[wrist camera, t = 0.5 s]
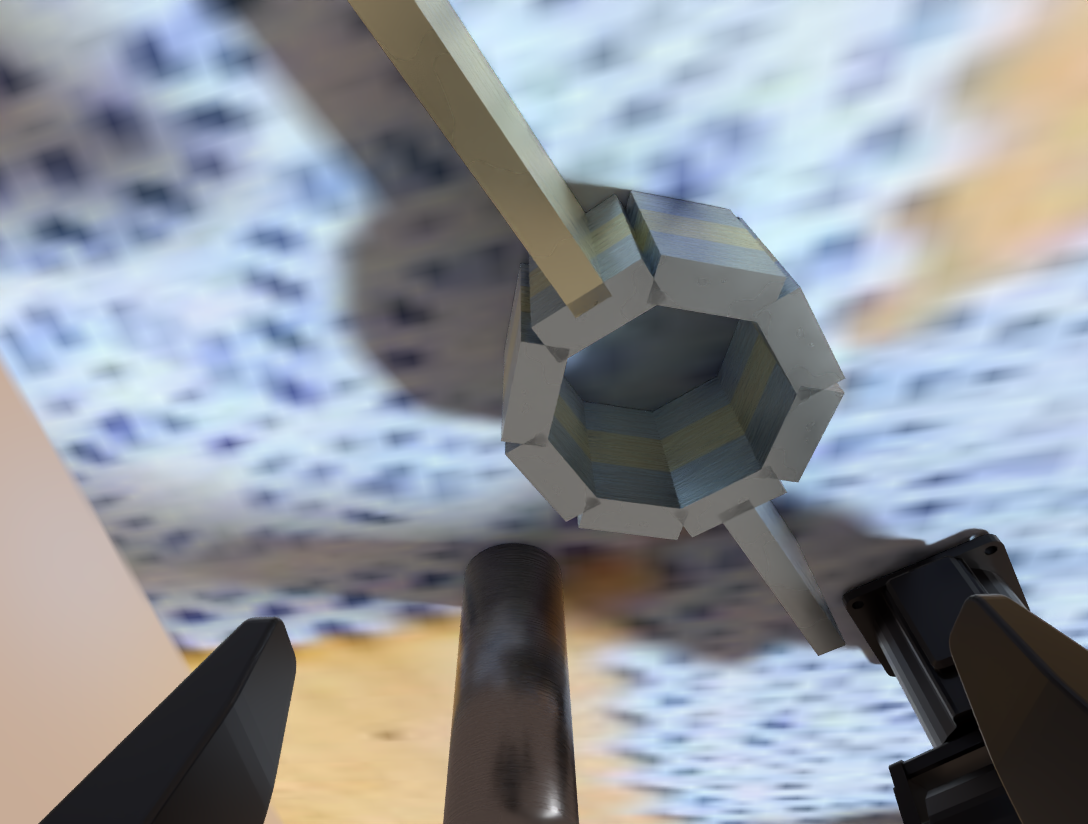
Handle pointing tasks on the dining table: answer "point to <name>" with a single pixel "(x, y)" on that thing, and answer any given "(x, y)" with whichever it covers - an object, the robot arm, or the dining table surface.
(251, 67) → the dining table surface
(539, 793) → the hinge pin
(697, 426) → the hinge
